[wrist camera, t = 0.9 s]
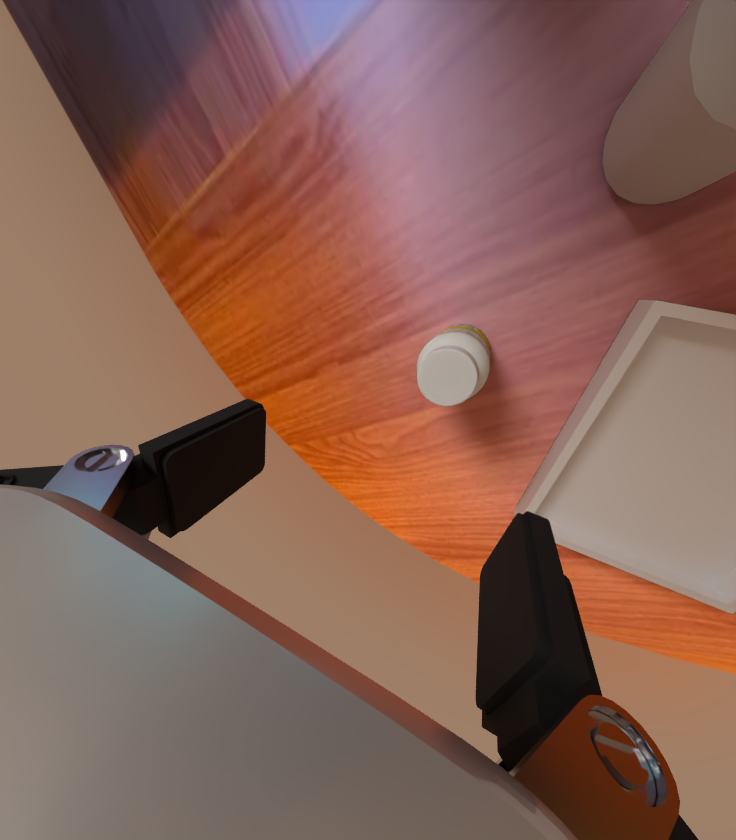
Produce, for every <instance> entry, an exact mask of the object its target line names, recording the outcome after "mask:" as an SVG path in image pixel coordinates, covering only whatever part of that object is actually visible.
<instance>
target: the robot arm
mask: <svg viewBox="0 0 736 840" xmlns="http://www.w3.org/2000/svg"><path fill="white" fill-rule="evenodd" d="M265 430H266V411H265V410H264V407H263V405H262V404H260V403H257V402H255V401H252V400H250V399H246V400H243V401H241V402H239V403H236V404H234V405H232V406H229V407H227V408H225V409H222V410H220V411H218V412H215V413H213V414H211V415H208V416H206V417H204V418H201V419H199V420H197V421H194V422H192V423H190V424H187V425H185V426H182V427H180V428H178V429H176V430H173V431H171V432H168V433H166V434H164V435H161V436H159V437H157V438H154V439H152V440H150V441H147V442H145V443H143V444H140V445H139V450H140V454H138V455H136V456H134V453H133V450H132V449H130V448H129V447H126V446H121V445H104V446H99V447H94V448H91V449H88V450H85V451H82V452H80V453H78V454H76V455H75V456H74V457H72V458H71V459H70V460H69V461H68V462H67V463H66V464H65V465H62V466H48V467H34V468H20V469H6V470H0V840H698V839H697V837H696V836H695V835H694V833H693V832H692V831H691V829H690V828H689V827H688V826H687V825H686V823H685V822H684V820H683V819H682V818H681V817H680V815H679V806H680V800H679V795H678V790H677V786H676V782H675V780H674V778H673V775H672V773H671V771H670V768H669V766H668V764H667V762H666V760H665V759H664V757H663V755H662V754H661V752H660V750H659V749H658V747H657V745H656V744H655V742H654V741H653V740H652V739H651V737H650V736H649V735H648V734H647V732H646V731H645V730H644V728H643V727H642V726H641V725H640V724H639V723H638V722H637V721H636V720H635V719H634V718H633V717H632V716H631V715H630V714H629V713H628V712H627V711H626V710H624V709H623V708H622V707H620V706H619V705H617V704H616V703H615V702H613V701H611V700H609V699H607V698H605V697H602V693H601V690H600V686H599V683H598V679H597V675H596V672H595V668H594V665H593V661H592V657H591V654H590V650H589V647H588V643H587V639H586V636H585V632H584V629H583V625H582V622H581V618H580V614H579V611H578V607H577V604H576V600H575V596H574V593H573V589H572V586H571V583H570V581H569V579H568V578H567V577H566V576H565V575H564V574H563V570H562V566H561V563H560V559H559V555H558V551H557V547H556V544H555V540H554V536H553V532H552V528H551V525H550V522H549V520H548V519H546V518H544V517H541V516H539V515H536V514H534V513H531V512H529V511H526V512H525V513H524V514H521V513H517V514H516V516H515V517H514V519H513V520H512V522H511V523H510V525H509V527H508V528H507V530H506V531H505V533H504V534H503V536H502V537H501V539H500V541H499V542H498V544H497V545H496V547H495V548H494V550H493V552H492V553H491V555H490V556H489V558H488V559H487V561H486V563H485V564H484V566H483V568H482V571H481V575H480V593H479V621H478V648H477V676H476V705H477V707H478V708H480V709H481V710H482V727H483V728H484V729H486V730H488V731H489V732H491V733H492V734H494V735H496V736H497V737H498V738H497V742H498V753H499V755H500V756H501V758H500V759H499V760H498V761H497V762H496V763H495V762H493V761H492V760H491V759H489V758H488V757H487V756H485V755H484V754H482V753H481V752H480V751H478V750H477V749H476V748H474V747H473V746H471V745H470V744H468V743H467V742H466V741H464V740H463V739H462V738H460V737H458V736H457V735H456V734H454V733H453V732H451V731H449V730H448V729H446V728H445V727H443V726H442V725H440V724H439V723H437V722H436V721H434V720H433V719H431V718H430V717H428V716H427V715H425V714H424V713H422V712H421V711H419V710H417V709H416V708H415V707H413V706H411V705H410V704H408V703H407V702H405V701H404V700H402V699H401V698H399V697H398V696H396V695H395V694H393V693H392V692H390V691H388V690H387V689H385V688H384V687H382V686H381V685H379V684H378V683H376V682H374V681H373V680H371V679H370V678H368V677H367V676H365V675H363V674H362V673H360V672H358V671H357V670H355V669H354V668H352V667H351V666H349V665H348V664H346V663H344V662H343V661H341V660H339V659H338V658H336V657H335V656H333V655H332V654H330V653H329V652H327V651H325V650H324V649H322V648H321V647H319V646H318V645H316V644H314V643H313V642H311V641H310V640H308V639H306V638H305V637H303V636H302V635H300V634H298V633H297V632H295V631H294V630H292V629H291V628H289V627H287V626H286V625H284V624H283V623H281V622H279V621H278V620H276V619H275V618H273V617H271V616H270V615H268V614H266V613H265V612H263V611H262V610H260V609H259V608H257V607H255V606H254V605H252V604H251V603H249V602H247V601H246V600H244V599H243V598H241V597H239V596H238V595H236V594H235V593H233V592H231V591H230V590H228V589H227V588H225V587H223V586H221V585H220V584H219V583H217V582H215V581H214V580H212V579H211V578H209V577H207V576H206V575H204V574H202V573H201V572H199V571H198V570H196V569H194V568H193V567H191V566H190V565H188V564H186V563H185V562H183V561H182V560H180V559H178V558H177V557H175V556H173V555H172V554H170V553H168V552H167V551H165V550H164V549H162V548H160V547H159V546H157V545H156V544H154V543H152V542H151V541H149V540H148V539H149V536H150V533H151V531H152V530H153V529H154V528H155V527H157V526H158V530H159V531H160V532H161V533H163V534H165V535H166V536H168V537H169V538H171V537H173V536H174V535H176V534H177V533H178V532H180V531H184V530H186V529H188V528H189V527H191V526H192V525H193V524H194V523H196V522H197V521H198V520H200V519H201V518H202V517H203V516H204V515H206V514H207V513H209V512H210V511H211V510H212V509H214V508H215V507H216V506H218V505H219V504H220V503H222V502H223V501H224V500H225V499H227V498H228V497H229V496H231V495H232V494H233V493H234V492H236V491H237V490H238V489H239V488H241V487H242V486H244V485H245V484H246V483H247V482H249V481H250V480H251V479H253V478H254V477H255V476H256V475H258V474H259V473H260V472H261V471H262V470H263V468H264V465H265V433H266V431H265Z"/></svg>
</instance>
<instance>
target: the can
mask: <svg viewBox="0 0 736 840" xmlns="http://www.w3.org/2000/svg"><path fill="white" fill-rule="evenodd" d="M602 163H603V168H604V172H605V177H606V181H607V182H608V184H609V185H610V186H611V188H612V189H613V190H614V192H615V193H616V194H617V195H618V196H620V197H622V198H624V199H626V200H628V201H630V202H632V203H638V204H651V205H656V204H661V203H665V202H669V201H674V200H678V199H681V198H683V197H685V196H687V195H689V194H691V193H694V192H696V191H698V190H700V189H702V188H704V187H706V186H708V185H710V184H712V183H714V182H716V181H718V180H720V179H722V178H724V177H726V176H728V175H730V174H732V173H734V172H736V0H692V2H691V3H690V5H689V6H688V8H687V9H686V11H685V12H684V14H683V15H682V16H681V18H680V19H679V21H678V22H677V24H676V25H675V27H674V28H673V30H672V31H671V33H670V34H669V35H668V37H667V38H666V40H665V41H664V43H663V44H662V46H661V47H660V49H659V50H658V51H657V53H656V54H655V56H654V57H653V59H652V60H651V62H650V63H649V65H648V66H647V67H646V69H645V70H644V72H643V73H642V75H641V76H640V78H639V79H638V81H637V82H636V84H635V85H634V86H633V88H632V89H631V91H630V92H629V94H628V95H627V97H626V98H625V100H624V101H623V103H622V104H621V106H620V107H619V109H618V110H617V112H616V113H615V115H614V118H613V120H612V123H611V125H610V128H609V130H608V133H607V135H606V138H605V143H604V151H603V159H602Z"/></svg>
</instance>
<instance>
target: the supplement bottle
mask: <svg viewBox="0 0 736 840" xmlns="http://www.w3.org/2000/svg"><path fill="white" fill-rule="evenodd" d="M489 370H490V344H489V341H488V339H487V337H486V336H485V334H484V333H483V332H482V331H481V330H479V329H478V328H476V327H474V326H472V325H468V324H458V325H453V326H450V327H448V328H446V329H445V330H444V331H442V332H441V333H440V334H438V335H437V336H436V337H435V338H433V339H432V340H431V341H429V342H428V343H427V344H426V345H425V347H424V348H423V349H422V351H421V353H420V355H419V358H418V362H417V382H418V386H419V389H420V391H421V392H422V394H423V395H424V396H425V397H426V398H427V399H428V400H429V401H431V402H433V403H434V404H437V405H440V406H454V405H457V404H460V403H462V402H464V401H465V400H466V399H469V398H470V397H472V396H474V395H475V394H476V393H477V392H479V391H480V389H481V388H482V387H483V385H484V384H485V382H486V380H487V378H488V375H489Z"/></svg>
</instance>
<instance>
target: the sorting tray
mask: <svg viewBox="0 0 736 840" xmlns="http://www.w3.org/2000/svg"><path fill="white" fill-rule="evenodd" d="M526 511H529V512H531V513H534V514H536V515H539V516H541V517H544V518H546V519H548V520H549V522H550V525H551V528H552V532H553V536H554V540H555V543H556V544H559V545H561V546H564V547H566V548H569V549H571V550H574V551H576V552H579V553H581V554H584V555H586V556H589V557H591V558H594V559H596V560H599V561H601V562H603V563H606V564H608V565H611V566H613V567H616V568H618V569H621V570H623V571H626V572H628V573H631V574H633V575H636V576H638V577H641V578H643V579H646V580H648V581H651V582H653V583H656V584H658V585H661V586H663V587H666V588H668V589H671V590H673V591H675V592H678V593H680V594H683V595H685V596H688V597H690V598H693V599H695V600H698V601H700V602H703V603H705V604H708V605H710V606H713V607H715V608H718V609H720V610H723V611H725V612H728V613H730V614H733V613H734V612H736V315H734V314H729V313H723V312H718V311H712V310H707V309H701V308H696V307H690V306H685V305H679V304H674V303H668V302H663V301H657V300H638V301H637V303H636V305H635V306H634V308H633V310H632V311H631V313H630V315H629V316H628V318H627V320H626V322H625V323H624V325H623V327H622V328H621V330H620V332H619V333H618V335H617V337H616V338H615V340H614V342H613V344H612V345H611V347H610V349H609V350H608V352H607V354H606V355H605V357H604V359H603V361H602V362H601V364H600V366H599V367H598V369H597V371H596V372H595V374H594V376H593V378H592V379H591V381H590V383H589V384H588V386H587V388H586V389H585V391H584V393H583V394H582V396H581V398H580V400H579V401H578V403H577V405H576V406H575V408H574V410H573V411H572V413H571V415H570V417H569V418H568V420H567V422H566V423H565V425H564V427H563V428H562V430H561V432H560V433H559V435H558V437H557V439H556V440H555V442H554V444H553V445H552V447H551V449H550V450H549V452H548V454H547V456H546V457H545V459H544V461H543V462H542V464H541V466H540V467H539V469H538V471H537V472H536V474H535V476H534V478H533V479H532V481H531V483H530V484H529V486H528V488H527V489H526V491H525V493H524V495H523V496H522V498H521V500H520V501H519V503H518V505H517V506H516V508H515V510H514V517H515V516H516V514H517V513H521V514H524V513H525V512H526Z"/></svg>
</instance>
